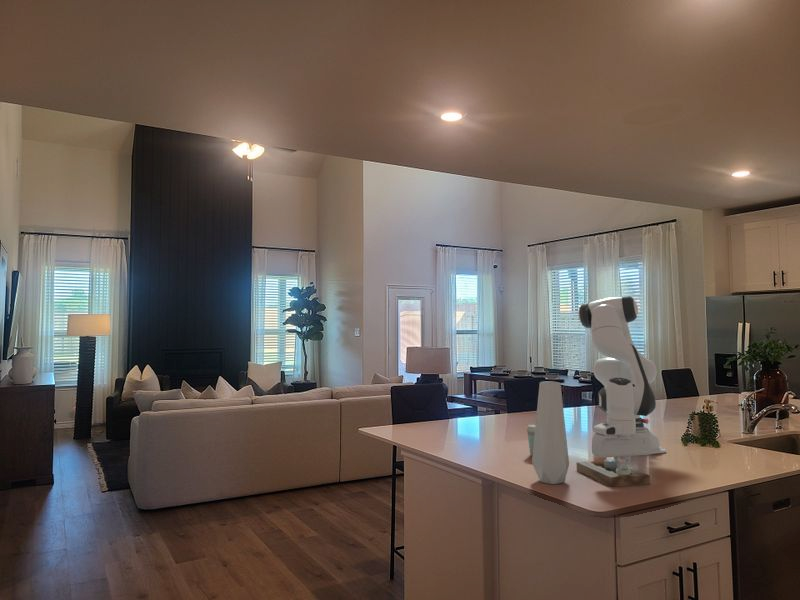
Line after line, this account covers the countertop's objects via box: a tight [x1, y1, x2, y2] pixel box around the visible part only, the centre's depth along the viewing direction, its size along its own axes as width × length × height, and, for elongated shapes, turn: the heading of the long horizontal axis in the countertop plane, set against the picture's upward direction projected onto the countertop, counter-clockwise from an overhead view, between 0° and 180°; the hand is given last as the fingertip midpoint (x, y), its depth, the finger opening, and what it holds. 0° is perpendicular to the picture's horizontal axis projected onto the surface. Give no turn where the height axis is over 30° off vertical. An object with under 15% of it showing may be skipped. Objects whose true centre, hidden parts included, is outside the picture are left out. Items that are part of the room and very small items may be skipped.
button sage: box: [616, 469, 630, 475], centre depth 183 cm, size 4×4×3 cm
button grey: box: [604, 458, 617, 470], centre depth 190 cm, size 4×4×3 cm
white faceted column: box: [531, 381, 570, 485], centre depth 186 cm, size 12×12×33 cm
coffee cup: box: [526, 423, 536, 457], centre depth 224 cm, size 9×8×12 cm
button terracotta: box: [593, 455, 608, 465], centre depth 197 cm, size 4×4×3 cm
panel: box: [576, 460, 651, 488], centre depth 190 cm, size 14×22×3 cm, turn 11°
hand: (622, 469), depth 183 cm, fingers closed, pressing on button sage
